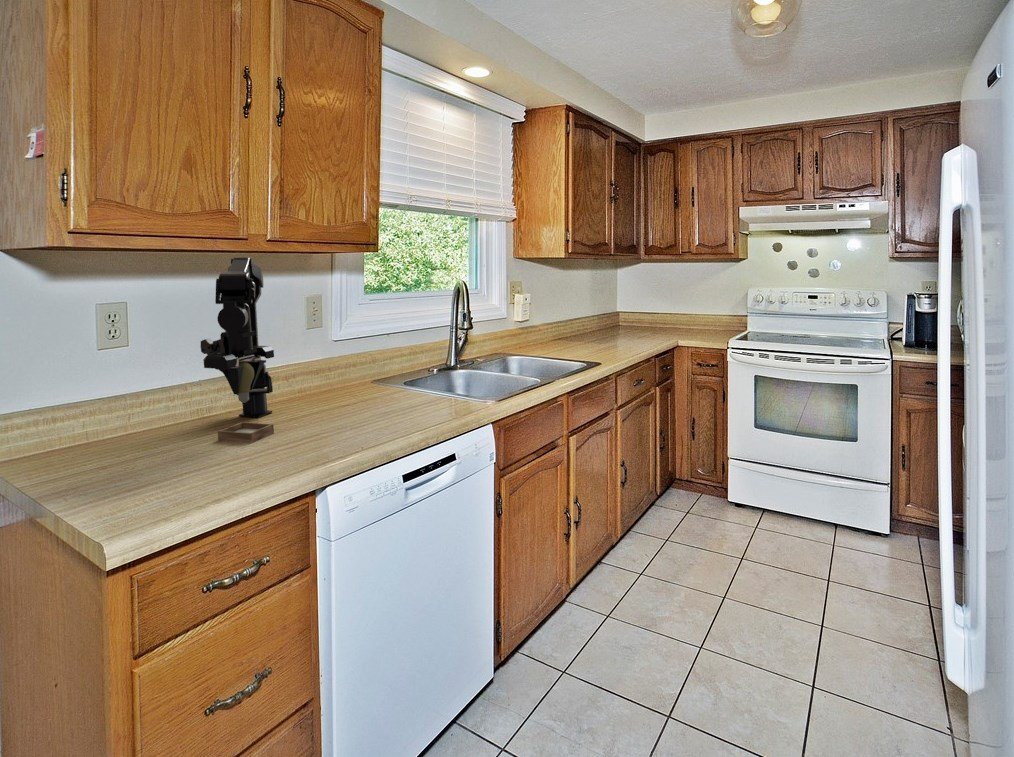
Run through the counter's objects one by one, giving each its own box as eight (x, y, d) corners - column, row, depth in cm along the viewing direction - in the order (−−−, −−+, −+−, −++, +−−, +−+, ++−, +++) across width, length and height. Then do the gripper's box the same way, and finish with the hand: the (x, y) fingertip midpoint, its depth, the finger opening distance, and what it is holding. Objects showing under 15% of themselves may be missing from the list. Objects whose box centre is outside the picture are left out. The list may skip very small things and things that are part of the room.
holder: (242, 431, 160) (241, 422, 159) (274, 433, 158) (273, 424, 157) (218, 440, 151) (217, 431, 151) (251, 443, 149) (250, 433, 149)
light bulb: (231, 400, 155) (228, 360, 153) (256, 399, 156) (253, 359, 155) (230, 405, 149) (227, 363, 148) (256, 403, 151) (253, 362, 150)
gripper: (234, 322, 160) (239, 383, 163) (180, 330, 143) (186, 398, 146) (273, 323, 158) (277, 385, 161) (222, 332, 140) (228, 401, 143)
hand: (243, 392), depth 152 cm, fingers closed on light bulb, 5 cm apart
